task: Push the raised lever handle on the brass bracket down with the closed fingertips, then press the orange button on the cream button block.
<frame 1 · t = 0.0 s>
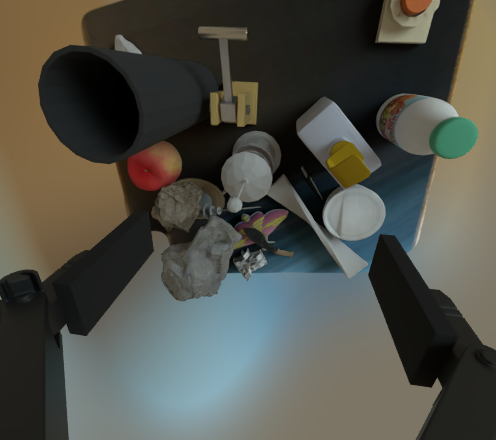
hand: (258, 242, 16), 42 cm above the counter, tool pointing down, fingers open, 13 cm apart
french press: (253, 159, 57), on the counter
knife: (325, 183, 57), on the counter
button block: (407, 4, 43), on the counter
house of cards: (249, 249, 67), on the counter
milk bottle: (397, 117, 50), on the counter
rock: (183, 230, 52), point 12 cm above the counter, touching toy
vase: (192, 92, 53), on the counter
machete: (275, 236, 60), point 4 cm above the counter, touching decorative ornament
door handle: (327, 224, 56), point 4 cm above the counter, touching ramekin
soap bottle: (329, 133, 53), on the counter
apple: (166, 157, 59), on the counter
ramekin: (348, 204, 58), on the counter, touching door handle
toy: (211, 223, 53), point 10 cm above the counter, touching rock, stone 2
decorative ornament: (241, 212, 60), point 2 cm above the counter, touching machete
stone: (132, 59, 52), on the counter
lever: (227, 77, 39), point 13 cm above the counter, hinge at 25.0°
stone 2: (206, 247, 64), point 3 cm above the counter, touching toy
bracket: (241, 102, 52), on the counter
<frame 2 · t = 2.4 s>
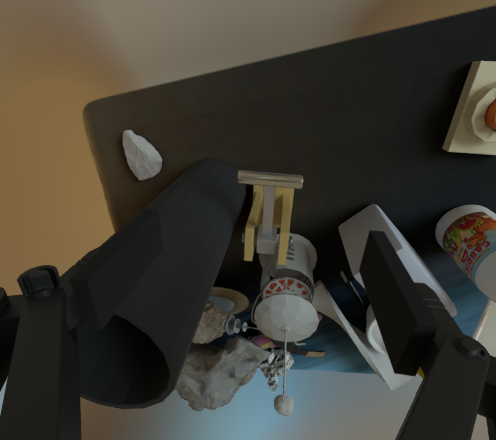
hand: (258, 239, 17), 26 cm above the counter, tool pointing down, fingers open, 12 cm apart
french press: (283, 260, 48), on the counter
knife: (368, 288, 49), on the counter
button block: (486, 109, 34), on the counter
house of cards: (274, 346, 58), on the counter
milk bottle: (461, 226, 42), on the counter
rock: (204, 355, 44), point 12 cm above the counter, touching toy
vase: (214, 190, 45), on the counter
machete: (306, 343, 51), point 4 cm above the counter, touching decorative ornament
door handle: (370, 337, 48), point 4 cm above the counter, touching ramekin
soap bottle: (377, 239, 44), on the counter
ramekin: (393, 310, 50), on the counter, touching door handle
toy: (236, 345, 44), point 10 cm above the counter, touching rock, stone 2
decorative ornament: (268, 315, 52), point 2 cm above the counter, touching machete
stone: (142, 152, 43), on the counter
lever: (268, 215, 31), point 13 cm above the counter, hinge at 25.0°
stone 2: (226, 348, 56), point 3 cm above the counter, touching toy
bracket: (272, 203, 44), on the counter
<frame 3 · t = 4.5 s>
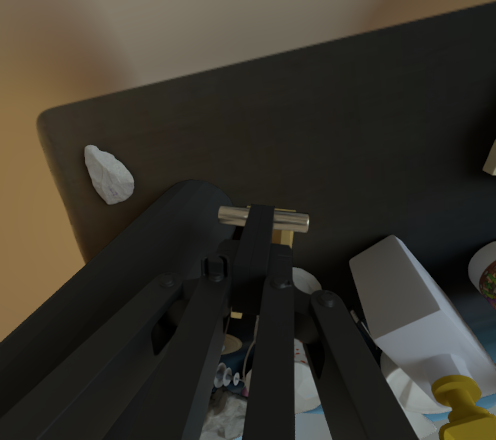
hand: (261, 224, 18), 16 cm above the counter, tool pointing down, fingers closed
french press: (283, 296, 41), on the counter
knife: (383, 329, 41), on the counter
vase: (199, 216, 37), on the counter
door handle: (386, 388, 41), point 4 cm above the counter, touching ramekin
soap bottle: (395, 275, 37), on the counter
ramekin: (412, 353, 42), on the counter, touching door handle
toy: (226, 403, 37), point 10 cm above the counter, touching rock, stone 2
decorative ornament: (264, 358, 44), point 2 cm above the counter, touching machete
stone: (111, 171, 36), on the counter
lever: (261, 262, 23), point 13 cm above the counter, hinge at 21.0°, touching gripper
stone 2: (216, 393, 48), point 3 cm above the counter, touching toy
bracket: (269, 232, 36), on the counter
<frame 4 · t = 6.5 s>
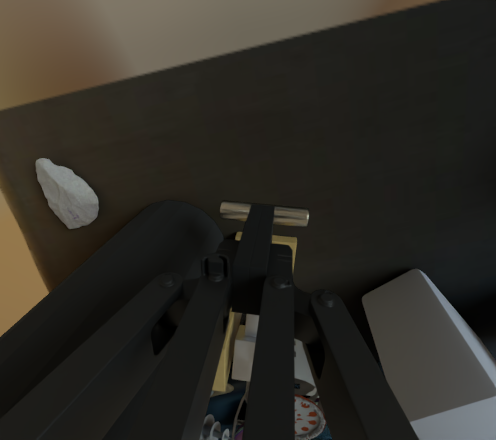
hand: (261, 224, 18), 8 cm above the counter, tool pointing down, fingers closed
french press: (281, 335, 34), on the counter
vase: (179, 242, 30), on the counter
soap bottle: (418, 314, 30), on the counter
decorative ornament: (260, 404, 38), point 2 cm above the counter, touching machete
stone: (72, 189, 29), on the counter
lever: (256, 289, 20), point 9 cm above the counter, hinge at -23.9°, touching gripper
bracket: (264, 262, 30), on the counter
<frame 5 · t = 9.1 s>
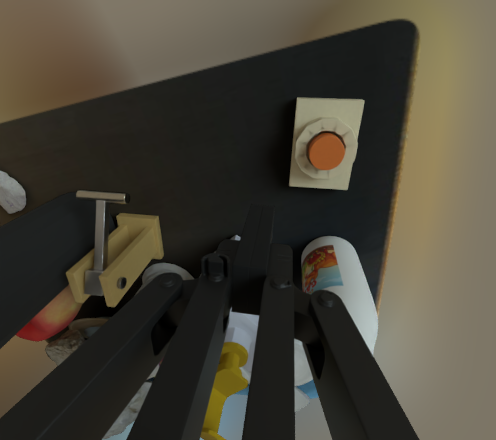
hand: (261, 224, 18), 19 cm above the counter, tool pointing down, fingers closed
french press: (167, 288, 48), on the counter
button block: (322, 143, 34), on the counter
milk bottle: (328, 256, 41), on the counter
rock: (80, 388, 44), point 12 cm above the counter, touching toy
vase: (85, 222, 44), on the counter
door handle: (256, 365, 48), point 4 cm above the counter, touching ramekin
soap bottle: (250, 269, 44), on the counter
apple: (70, 282, 50), on the counter
ramekin: (283, 336, 49), on the counter, touching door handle
toy: (111, 378, 44), point 10 cm above the counter, touching rock, stone 2
button: (325, 151, 30), point 4 cm above the counter, slide at 0.1 cm
stone: (10, 186, 43), on the counter
lever: (101, 242, 33), point 9 cm above the counter, hinge at -23.9°
stone 2: (127, 374, 55), point 3 cm above the counter, touching toy
bracket: (142, 234, 43), on the counter
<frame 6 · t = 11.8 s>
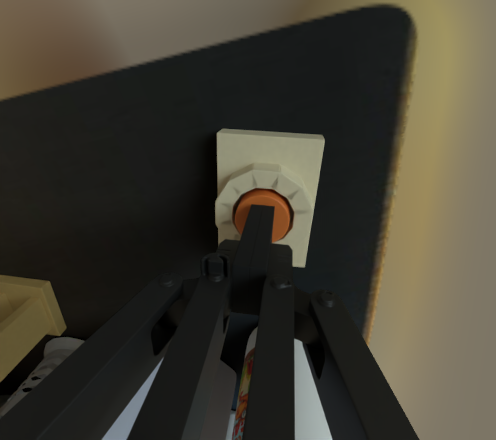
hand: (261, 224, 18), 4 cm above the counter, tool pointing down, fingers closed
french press: (79, 366, 36), on the counter
button block: (266, 197, 22), on the counter
milk bottle: (285, 342, 29), on the counter
soap bottle: (182, 351, 32), on the counter
ramekin: (233, 427, 38), on the counter, touching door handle
button: (262, 215, 19), point 3 cm above the counter, slide at -0.8 cm, touching gripper
bracket: (34, 302, 32), on the counter
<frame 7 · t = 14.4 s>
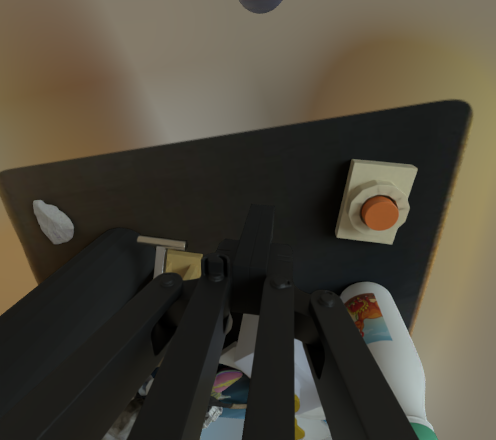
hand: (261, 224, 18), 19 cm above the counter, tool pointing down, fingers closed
button block: (370, 200, 36), on the counter
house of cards: (203, 396, 59), on the counter
milk bottle: (363, 299, 43), on the counter
vase: (128, 255, 45), on the counter
machete: (227, 399, 52), point 4 cm above the counter, touching decorative ornament
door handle: (285, 398, 49), point 4 cm above the counter, touching ramekin
soap bottle: (286, 307, 45), on the counter
ramekin: (310, 369, 51), on the counter, touching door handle
toy: (146, 408, 45), point 10 cm above the counter, touching rock, stone 2
decorative ornament: (190, 371, 53), point 2 cm above the counter, touching machete
button: (379, 213, 32), point 4 cm above the counter, slide at 0.1 cm
stone: (57, 218, 44), on the counter
lever: (158, 285, 35), point 9 cm above the counter, hinge at -23.9°
stone 2: (152, 399, 56), point 3 cm above the counter, touching toy
bracket: (184, 269, 45), on the counter
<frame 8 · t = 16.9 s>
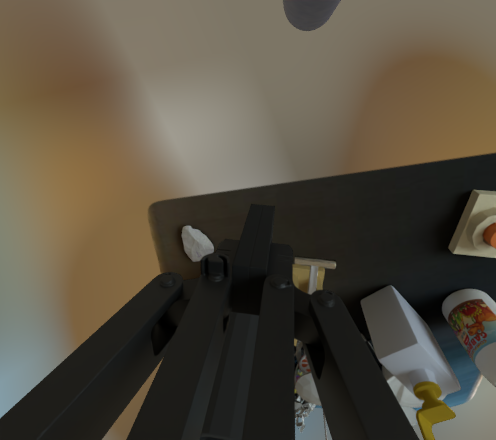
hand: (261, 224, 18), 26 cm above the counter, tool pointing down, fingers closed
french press: (312, 323, 57), on the counter
knife: (383, 347, 57), on the counter
button block: (484, 222, 43), on the counter
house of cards: (299, 389, 67), on the counter
milk bottle: (463, 303, 50), on the counter
vase: (255, 269, 53), on the counter
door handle: (386, 389, 57), point 4 cm above the counter, touching ramekin
soap bottle: (392, 310, 53), on the counter
ramekin: (405, 364, 58), on the counter, touching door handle
stone: (196, 239, 52), on the counter
lever: (310, 297, 42), point 9 cm above the counter, hinge at -23.9°
bracket: (304, 281, 52), on the counter
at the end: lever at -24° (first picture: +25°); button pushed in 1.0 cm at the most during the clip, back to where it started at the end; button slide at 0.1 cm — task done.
